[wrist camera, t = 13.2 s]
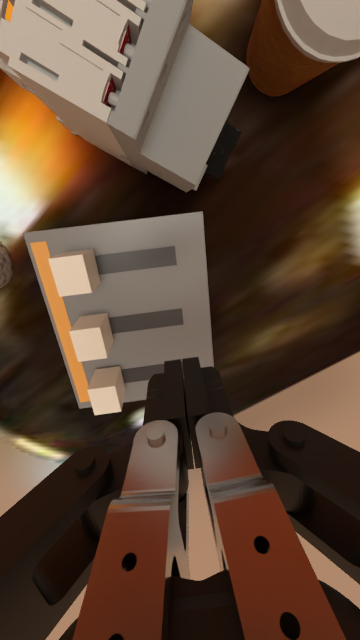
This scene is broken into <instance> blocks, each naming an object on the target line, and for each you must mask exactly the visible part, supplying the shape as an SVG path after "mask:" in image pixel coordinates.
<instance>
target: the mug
mask: <svg viewBox="0 0 360 640" xmlns="http://www.w3.org/2000/svg"><path fill="white" fill-rule="evenodd" d="M13 274H14V263H13V259H12V257H11V254H10V253H9V251H8V250H7V248H6V247H5V246H4V245H3V244H2V243H1V242H0V288H2V287H4V286H6V285H7V284H8V283H9V282H10V281H11V279H12V277H13Z"/></svg>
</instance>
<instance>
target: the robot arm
mask: <svg viewBox="0 0 360 640" xmlns="http://www.w3.org/2000/svg"><path fill="white" fill-rule="evenodd" d="M182 363H183V370H182ZM182 363H181V359H177V360H170V361H164V373H159V374H154V375H153V376H152V377H151V379H150V380H149V382H148V387H147V396H146V405H145V413H144V422H143V427H141V428H140V429H139V430H138V432H137V433H136V435H135V438H134V442H132V443H131V444H130V445H128V446H126V447H124V448H122V449H120V450H117V451H115V452H113V453H110V454H108V452H107V450H106V449H105V448H103V447H101V446H89V447H85V448H83V449H81V450H79V451H77V452H75V453H74V454H73V455H72V456H70V457H69V458H68V459H67V460H66V461H65V462H63V463H62V464H61V465H60V466H59V467H58V468H56V469H55V470H54V471H53V472H52V473H51V474H49V476H47V477H46V478H45V479H44V480H43V481H41V482H40V483H39V484H38V485H37V486H36V487H34V488H33V489H32V490H31V491H30V492H29V493H27V494H26V495H25V496H24V497H23V498H22V499H21V500H19V501H18V502H17V503H16V504H15V505H14V506H13V507H11V508H10V509H9V510H8V511H7V512H5V513H4V514H3V515H2V516H1V517H0V640H45V639H46V638H47V637H48V635H49V634H50V633H51V631H52V630H53V629H54V627H55V626H56V624H57V623H58V622H59V621H60V619H61V618H62V617H63V615H64V614H65V613H66V611H67V610H68V609H69V607H70V606H71V605H72V603H73V602H74V601H75V599H76V598H77V597H78V595H79V594H80V593H81V591H82V590H83V589H84V587H85V586H86V585H87V588H86V592H85V595H84V599H83V603H82V606H81V610H80V614H79V617H78V618H77V619H76V620H75V621H74V622H73V623H72V624H71V625H70V627H69V628H68V629H67V630H66V631H65V633H64V634H63V635H62V636H61V637H60V639H59V640H360V609H359V608H358V607H357V606H356V605H354V604H353V603H352V602H351V601H350V600H349V599H347V598H346V597H345V596H343V595H342V594H341V593H340V592H338V591H337V590H335V589H333V588H332V587H330V586H329V585H327V584H326V583H324V582H322V581H320V580H318V579H317V576H316V574H315V572H314V570H313V568H312V566H311V564H310V562H309V559H308V557H307V555H306V553H305V551H304V549H303V547H302V545H301V543H300V540H299V538H298V536H297V534H296V532H297V533H298V534H300V535H301V536H302V537H303V538H304V539H305V540H307V541H308V542H309V543H310V544H312V545H313V546H314V547H315V548H316V549H318V550H319V551H320V552H321V553H322V554H324V555H325V556H326V557H327V558H328V559H330V560H331V561H332V562H333V563H335V564H336V565H337V566H338V567H339V568H341V569H342V570H343V571H344V572H345V573H346V574H348V575H349V576H350V577H351V578H353V579H354V580H355V581H356V582H357V583H359V584H360V452H358V451H356V450H354V449H352V448H350V447H348V446H346V445H345V444H343V443H340V442H339V441H337V440H335V439H333V438H330V437H329V436H327V435H325V434H323V433H321V432H319V431H317V430H315V429H313V428H311V427H309V426H307V425H305V424H303V423H300V422H297V421H281V422H278V423H276V424H274V425H273V426H272V427H271V428H270V430H269V432H266V431H259V430H253V429H249V428H247V427H244V426H243V425H241V424H240V423H238V421H237V420H236V419H235V418H234V417H233V414H232V411H231V408H230V405H229V402H228V399H227V395H226V392H225V389H224V386H223V383H222V380H221V377H220V374H219V372H218V371H217V370H216V369H215V368H214V367H212V366H210V367H202V368H201V366H200V362H199V357H191V358H184V359H182ZM183 373H184V376H183ZM190 434H191V435H190ZM191 441H192V445H191ZM192 447H193V454H194V460H195V466H196V468H201V472H202V479H203V485H204V492H205V497H206V502H207V506H208V511H209V516H210V521H211V526H212V530H213V535H214V540H215V544H216V550H217V554H218V560H219V565H220V571H221V572H219V573H217V574H215V575H213V576H211V577H209V578H207V579H205V580H202V581H194V580H190V572H189V556H188V543H189V540H188V539H189V535H188V533H189V526H188V524H189V504H188V503H189V493H188V483H189V481H188V469H194V465H193V455H192ZM295 531H296V532H295Z"/></svg>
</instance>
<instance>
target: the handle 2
mask: <svg viewBox="0 0 360 640" xmlns="http://www.w3.org/2000/svg"><path fill="white" fill-rule="evenodd" d="M87 391H88V395H89V398H90V401H91V405H92V408H93V411H94V415H100V414H107V413H114V412H121V410H122V405H123V400H124V395H125V386H124V381H123V377H122V373H121V368H120V366H117V367H110V368H102V369H95V372H94V374H93V377H92V379H91V381H90V384H89V386H88V389H87Z"/></svg>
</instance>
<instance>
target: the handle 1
mask: <svg viewBox="0 0 360 640" xmlns="http://www.w3.org/2000/svg"><path fill="white" fill-rule="evenodd" d="M48 261H49V264H50V267H51V271H52V274H53V277H54V281H55V284H56V287H57V291H58V294H59V297H63V296H70V295H78V294H86V293H92V292H93V291H94V290H95V288H96V287H97V286H98V285H99V284H100V282H101V281H100V277H99V273H98V268H97V264H96V260H95V255H94V251H93V249H87V250H79V251H70V252H63V253H61V254H58V255H56V256H53V257H51V258H49V259H48Z"/></svg>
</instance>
